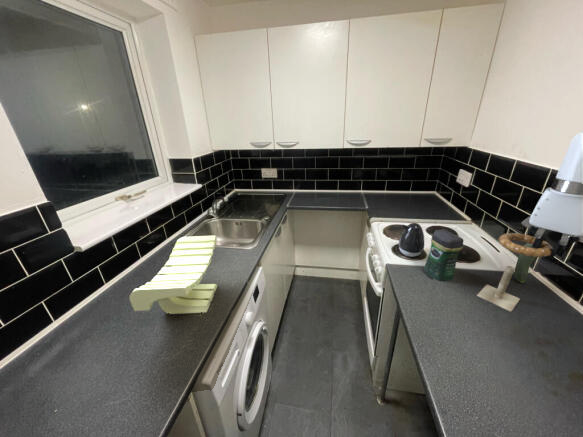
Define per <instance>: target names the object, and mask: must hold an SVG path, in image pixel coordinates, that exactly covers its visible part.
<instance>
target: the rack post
mask: <svg viewBox="0 0 583 437" xmlns="http://www.w3.org/2000/svg"><path fill="white" fill-rule="evenodd" d="M514 272H515V266H512V265H506V267H505V269H504V271H503V273H502V276H501V279H500V281H499V283H498V286H497V288H496V287H494V286H491V285H490V284H485V285H484V287H483V288H482V289H481V290H480V291H479V292H478V294H476V297H479V298H480V299H483V300H485V301H487V302H489V303H491V304H494V305H495V306H498V307H500V308H501V309H504V310H506V311H508V312H510V313H512V311H514V308H515V307H516V306H517V304H518V303H519V301H520V300H521V298H519V297H518V296H516V295H515V296H514V295H512V294H510V293H507V292H506V291H507V288H508V286H509V285H510V282H511V279H512V277H513V276H514Z"/></svg>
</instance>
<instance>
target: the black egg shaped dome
mask: <svg viewBox="0 0 583 437" xmlns="http://www.w3.org/2000/svg"><path fill="white" fill-rule="evenodd" d="M401 228H403V229H404V230H403V231H402V233H401V235H400V238H399V240H398V244H397V245H398V249H399V251H400V252H401V253H402V254H403V255H404V256H406V257H409V258H410V257H411V258H414V257H418V256H420V255H421V253H422V252H423V251H424V249H425V234H424V230H423V228H422V226H421V225H420V224H419V223H417V222H411V223H409V224H408V225H405V224H401Z"/></svg>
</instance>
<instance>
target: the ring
mask: <svg viewBox="0 0 583 437" xmlns="http://www.w3.org/2000/svg"><path fill="white" fill-rule="evenodd" d="M534 240H535V236H534V235H533V236H532V235H528V234H524V233H517V232H509V233H503V234H501V236H499V238H498V242H499V243H500V245H501V246H502V247H503V248H504V249H506V250H509V251H510V252H513V253H516V254H518V255H519V254H522V255H526V256H533V257H536V258H545V257H550V255H551V252H552V250H553V248H554V247H553V246H552V245H551V244H550V243H549V242H547V241H546V240H543V242H542V245H541V247H540V248H539V249H535V248H528V247H524V245H520V244H517V243H516V242H523V243H525V244H526V243H529V244H532V245H533V243H534ZM513 241H514V242H513ZM515 241H516V242H515Z"/></svg>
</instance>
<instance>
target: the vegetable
mask: <svg viewBox="0 0 583 437" xmlns="http://www.w3.org/2000/svg"><path fill="white" fill-rule="evenodd" d="M523 246H524V247H528V248H533V247H532V244H529V243H526V242H525V244H523ZM536 258H537V257H533V256H526V255H522V254H519V253H518V258H517V261H516V264H515V266H514V268H515V270H514V273H513V277H514V279H515V280H516V281H517V282H520V283H521V284H524V283H526V280H527V278H528V275H529V272H530V268H531V265H532V263H533V261H535V259H536Z"/></svg>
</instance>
